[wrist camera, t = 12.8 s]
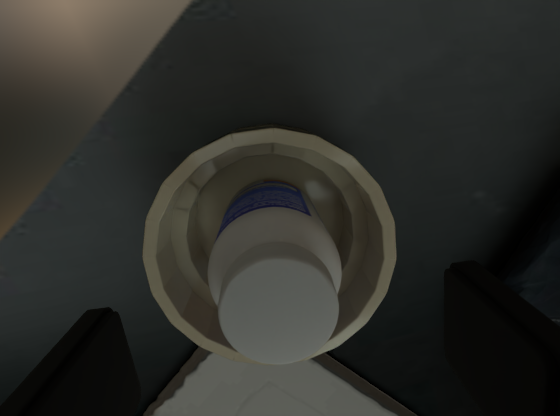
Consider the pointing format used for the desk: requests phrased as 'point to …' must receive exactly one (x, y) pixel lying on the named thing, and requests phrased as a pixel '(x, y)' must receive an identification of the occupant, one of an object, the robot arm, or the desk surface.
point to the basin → (212, 206)
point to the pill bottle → (274, 274)
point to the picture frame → (270, 390)
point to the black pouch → (538, 263)
